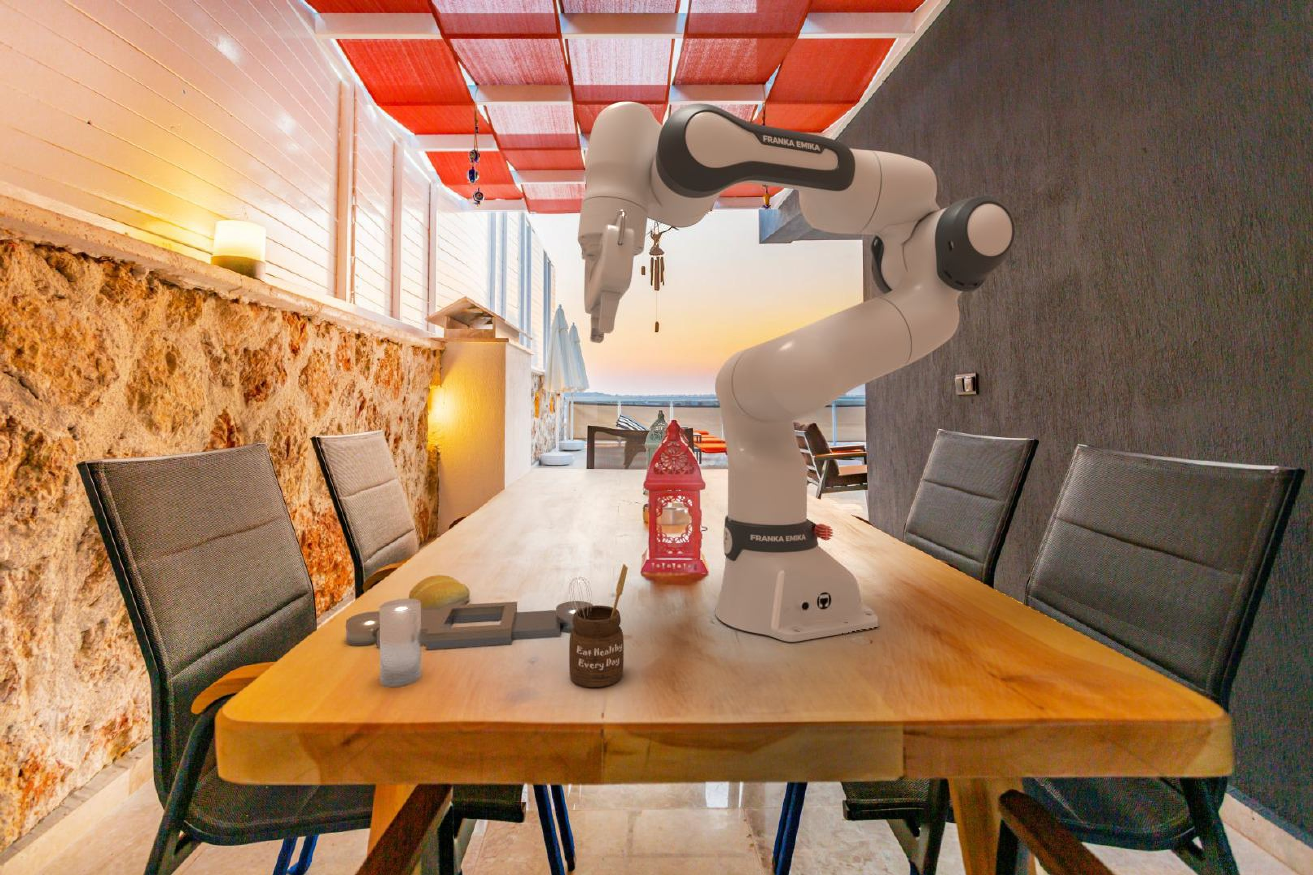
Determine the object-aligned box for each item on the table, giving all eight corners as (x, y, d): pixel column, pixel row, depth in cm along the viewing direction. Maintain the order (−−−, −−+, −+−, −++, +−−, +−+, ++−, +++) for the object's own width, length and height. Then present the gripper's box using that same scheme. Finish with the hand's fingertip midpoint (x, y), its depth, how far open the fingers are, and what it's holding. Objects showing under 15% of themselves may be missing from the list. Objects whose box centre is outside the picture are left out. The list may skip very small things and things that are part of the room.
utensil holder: (564, 667, 61) (565, 562, 61) (619, 660, 63) (619, 558, 63) (573, 692, 56) (573, 577, 55) (632, 684, 58) (633, 572, 57)
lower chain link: (590, 611, 79) (590, 594, 79) (595, 638, 69) (595, 619, 69) (443, 619, 75) (442, 601, 75) (426, 649, 66) (425, 629, 66)
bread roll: (422, 618, 76) (422, 590, 76) (403, 602, 83) (403, 576, 83) (479, 605, 82) (479, 579, 82) (457, 591, 89) (457, 567, 88)
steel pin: (424, 668, 61) (424, 597, 61) (415, 685, 57) (415, 610, 57) (386, 670, 60) (386, 599, 60) (374, 688, 56) (374, 612, 56)
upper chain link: (517, 615, 77) (517, 598, 77) (511, 644, 67) (511, 624, 67) (361, 624, 74) (361, 605, 73) (331, 655, 64) (331, 635, 64)
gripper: (652, 209, 62) (638, 329, 63) (623, 259, 82) (613, 349, 82) (597, 198, 61) (584, 320, 61) (581, 251, 81) (571, 343, 81)
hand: (600, 337), depth 72 cm, fingers open, 8 cm apart
